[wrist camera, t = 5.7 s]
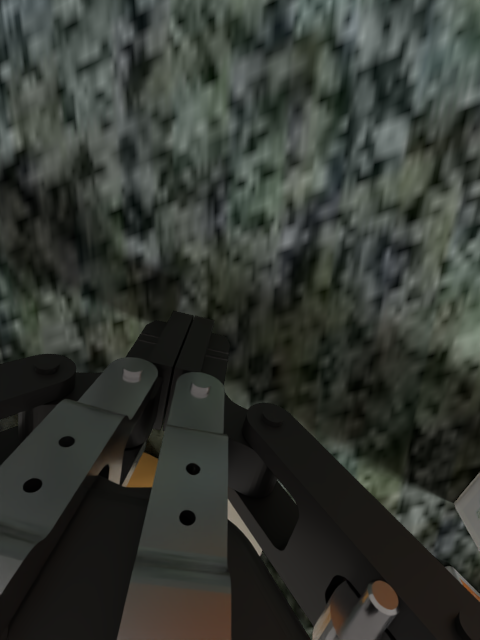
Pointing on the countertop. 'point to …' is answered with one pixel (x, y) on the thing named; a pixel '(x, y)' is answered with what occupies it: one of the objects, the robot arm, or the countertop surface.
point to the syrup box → (471, 509)
